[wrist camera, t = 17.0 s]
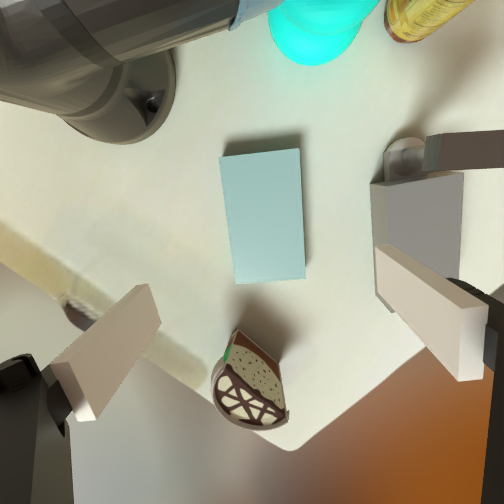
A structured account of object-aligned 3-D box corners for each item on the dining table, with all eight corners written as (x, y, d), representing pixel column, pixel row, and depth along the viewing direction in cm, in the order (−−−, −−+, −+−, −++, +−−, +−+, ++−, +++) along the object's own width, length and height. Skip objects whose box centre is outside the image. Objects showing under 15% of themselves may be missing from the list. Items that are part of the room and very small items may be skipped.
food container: (205, 344, 43) (187, 395, 33) (230, 321, 41) (219, 368, 32) (259, 388, 45) (257, 448, 35) (285, 368, 43) (290, 425, 34)
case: (367, 145, 32) (385, 141, 28) (436, 131, 32) (466, 125, 27) (375, 294, 38) (391, 312, 34) (433, 286, 38) (457, 304, 33)
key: (369, 170, 31) (437, 171, 19) (371, 147, 31) (443, 133, 18) (448, 165, 31) (570, 164, 18) (452, 143, 30) (582, 125, 18)
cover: (222, 158, 34) (218, 157, 31) (296, 149, 33) (299, 147, 31) (237, 275, 39) (235, 284, 36) (302, 270, 38) (305, 278, 36)
